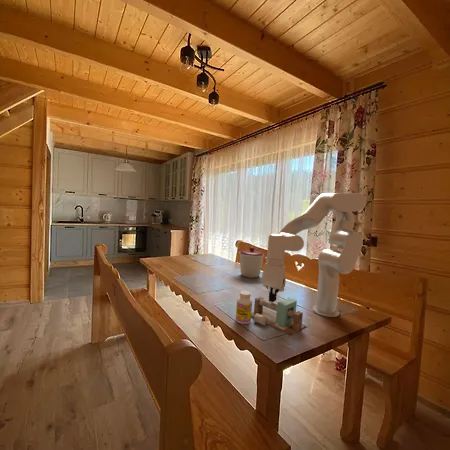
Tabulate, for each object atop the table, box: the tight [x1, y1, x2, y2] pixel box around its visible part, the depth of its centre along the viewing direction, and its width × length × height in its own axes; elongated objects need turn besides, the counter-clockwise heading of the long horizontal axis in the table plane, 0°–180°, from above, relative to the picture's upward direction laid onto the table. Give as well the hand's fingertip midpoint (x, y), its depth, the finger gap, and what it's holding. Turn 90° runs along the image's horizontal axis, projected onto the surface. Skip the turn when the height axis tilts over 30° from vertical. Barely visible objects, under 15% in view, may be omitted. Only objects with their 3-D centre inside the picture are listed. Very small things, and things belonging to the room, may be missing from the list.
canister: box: [238, 246, 265, 279], centre depth 185 cm, size 18×18×21 cm
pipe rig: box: [251, 296, 307, 336], centre depth 116 cm, size 12×23×8 cm, turn 45°
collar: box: [276, 297, 298, 326], centre depth 112 cm, size 9×4×9 cm, turn 135°
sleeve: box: [253, 313, 268, 327], centre depth 113 cm, size 4×5×4 cm
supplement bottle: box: [235, 290, 253, 325], centre depth 113 cm, size 7×7×13 cm
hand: (272, 301), depth 117 cm, fingers closed
